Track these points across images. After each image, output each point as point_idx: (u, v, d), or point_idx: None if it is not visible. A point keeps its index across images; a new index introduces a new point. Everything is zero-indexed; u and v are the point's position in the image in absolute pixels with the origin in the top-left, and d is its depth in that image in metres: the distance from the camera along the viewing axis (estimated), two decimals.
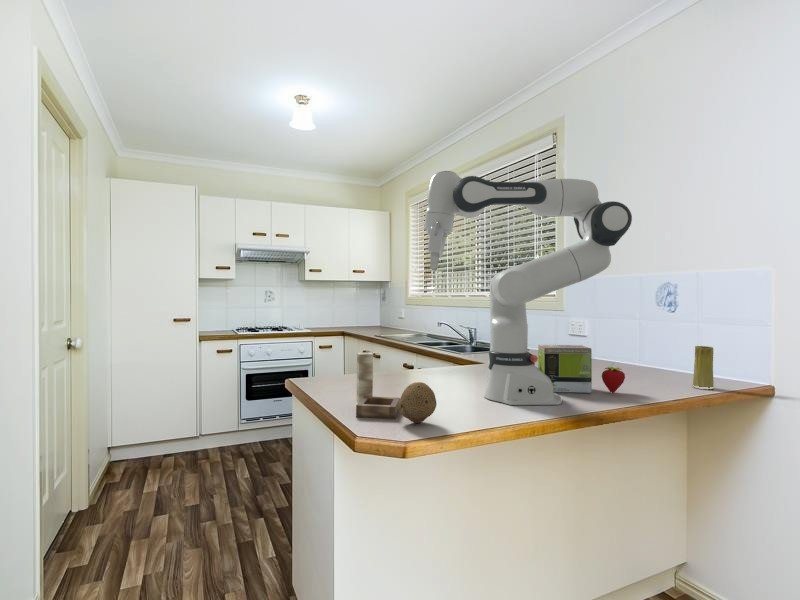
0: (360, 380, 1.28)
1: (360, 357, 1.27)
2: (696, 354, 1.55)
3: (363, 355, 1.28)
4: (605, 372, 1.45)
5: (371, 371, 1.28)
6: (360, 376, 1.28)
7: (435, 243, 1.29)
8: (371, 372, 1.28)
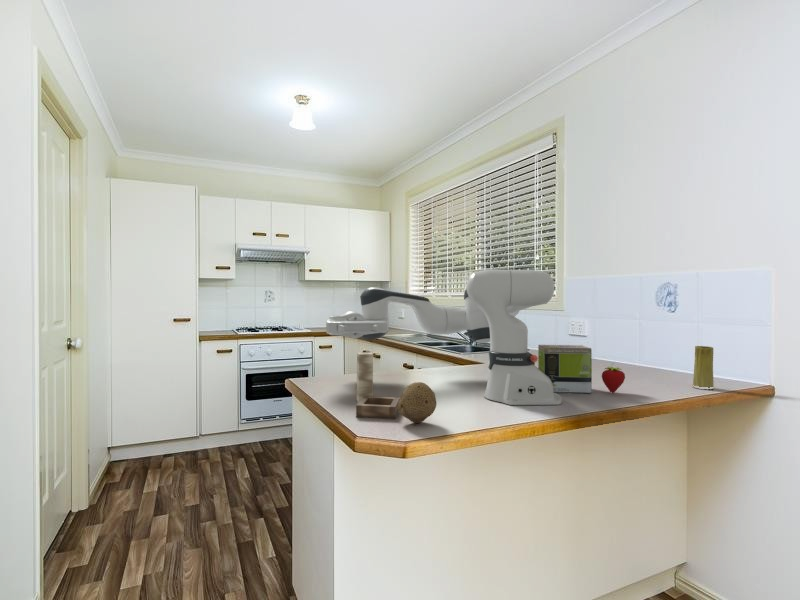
0: (360, 380, 1.28)
1: (360, 357, 1.27)
2: (696, 354, 1.55)
3: (363, 355, 1.28)
4: (605, 372, 1.45)
5: (371, 371, 1.28)
6: (360, 376, 1.28)
7: None
8: (371, 372, 1.28)
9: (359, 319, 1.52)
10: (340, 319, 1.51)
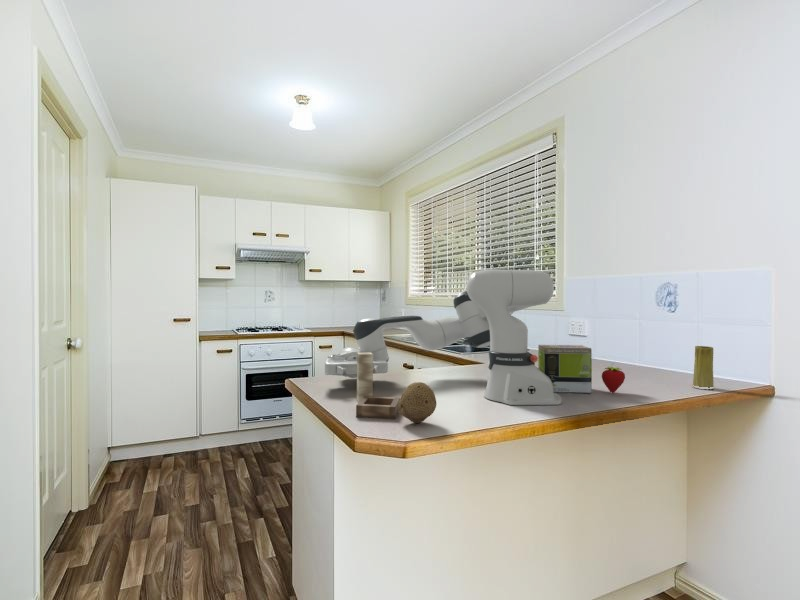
0: (360, 380, 1.28)
1: (360, 357, 1.27)
2: (696, 354, 1.55)
3: (363, 355, 1.28)
4: (605, 372, 1.45)
5: (371, 371, 1.28)
6: (360, 376, 1.28)
7: None
8: (371, 372, 1.28)
9: None
10: (339, 359, 1.47)
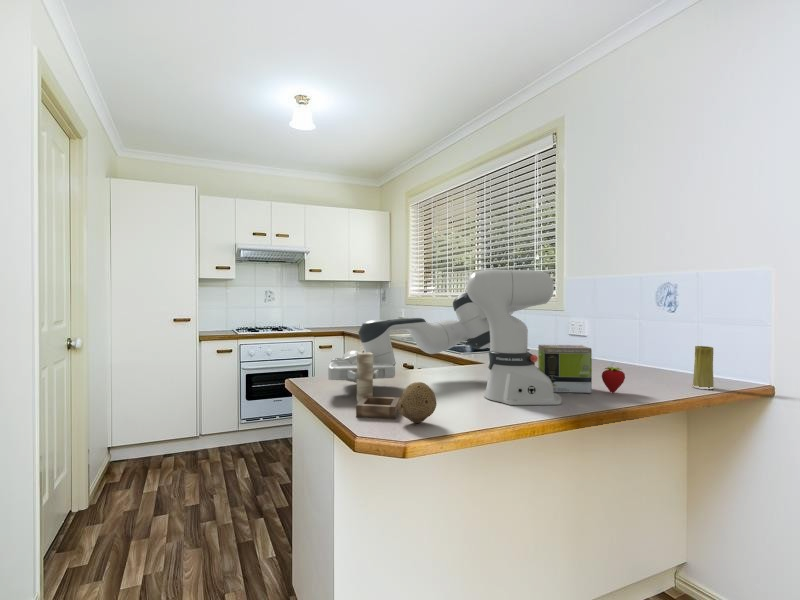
0: (360, 380, 1.28)
1: (360, 357, 1.27)
2: (696, 354, 1.55)
3: (363, 355, 1.28)
4: (605, 372, 1.45)
5: (371, 371, 1.28)
6: (360, 376, 1.28)
7: None
8: (371, 372, 1.28)
9: None
10: (343, 362, 1.38)
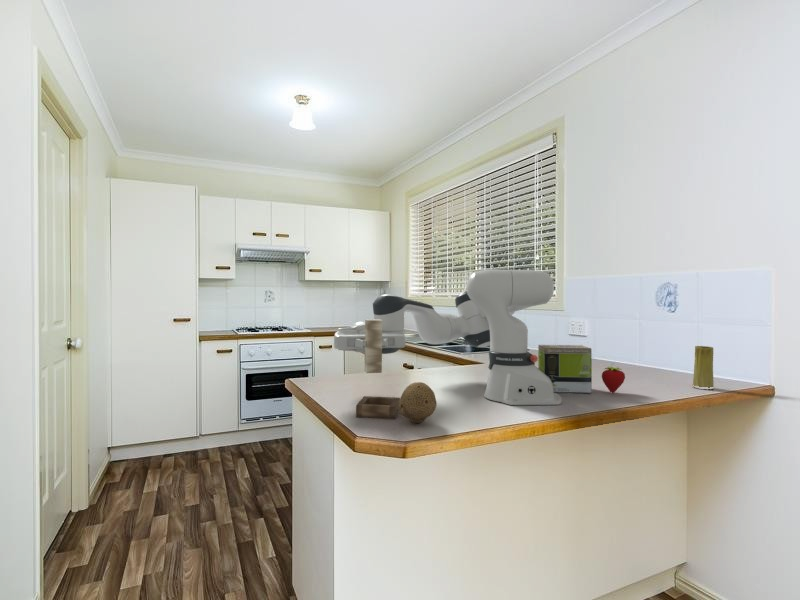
0: (368, 348, 1.19)
1: (369, 323, 1.19)
2: (696, 354, 1.55)
3: (372, 321, 1.19)
4: (605, 372, 1.45)
5: (380, 338, 1.20)
6: (369, 344, 1.19)
7: None
8: (380, 339, 1.20)
9: None
10: (350, 332, 1.30)
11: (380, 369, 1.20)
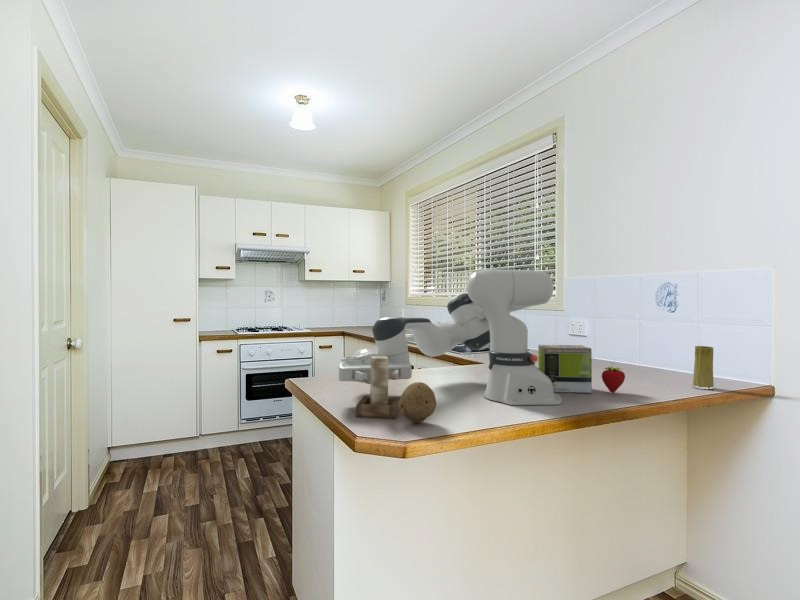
0: (374, 387, 1.16)
1: (374, 361, 1.16)
2: (696, 354, 1.55)
3: (378, 359, 1.16)
4: (605, 372, 1.45)
5: (386, 377, 1.17)
6: (374, 382, 1.16)
7: None
8: (386, 378, 1.17)
9: None
10: (355, 362, 1.27)
11: None
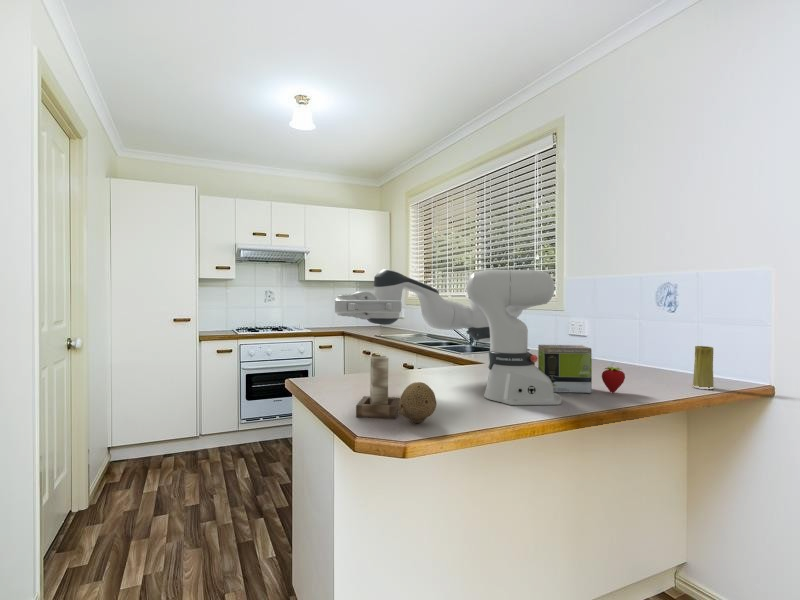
0: (374, 387, 1.16)
1: (374, 361, 1.16)
2: (696, 354, 1.55)
3: (378, 359, 1.16)
4: (605, 372, 1.45)
5: (386, 377, 1.17)
6: (374, 382, 1.16)
7: None
8: (386, 378, 1.17)
9: (370, 298, 1.40)
10: (349, 298, 1.39)
11: None
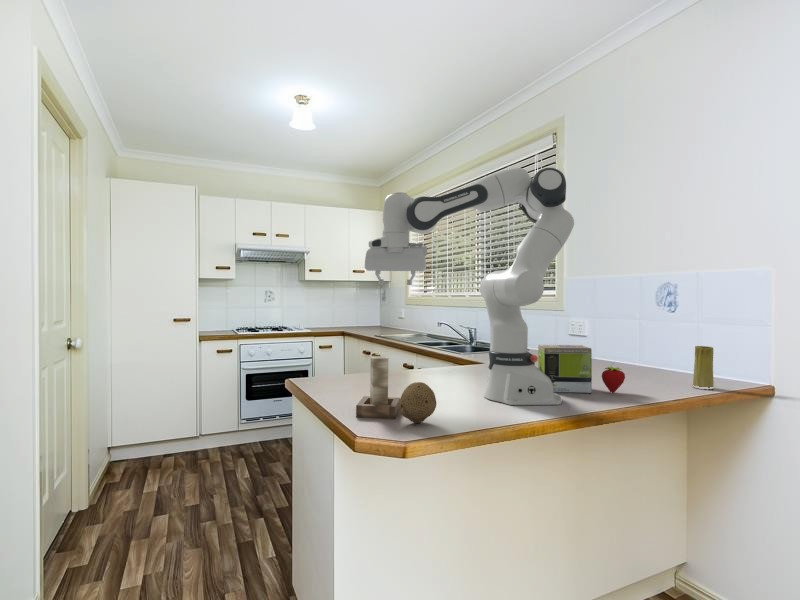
0: (374, 387, 1.16)
1: (374, 361, 1.16)
2: (696, 354, 1.55)
3: (378, 359, 1.16)
4: (605, 372, 1.45)
5: (386, 377, 1.17)
6: (374, 382, 1.16)
7: None
8: (386, 378, 1.17)
9: (398, 252, 1.46)
10: (379, 251, 1.47)
11: None
